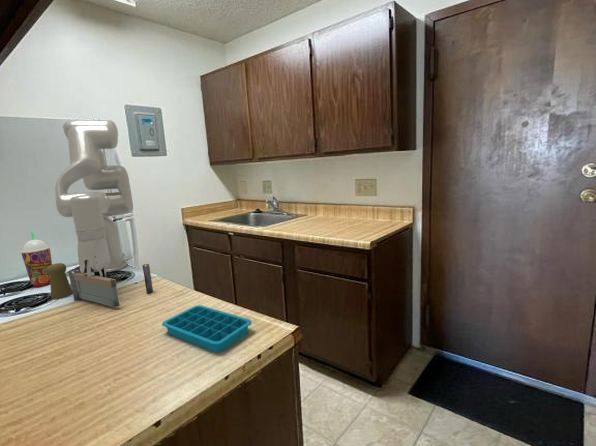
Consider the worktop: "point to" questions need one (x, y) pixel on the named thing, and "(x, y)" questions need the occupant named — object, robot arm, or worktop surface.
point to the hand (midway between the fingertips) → (101, 289)
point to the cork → (59, 281)
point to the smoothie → (37, 261)
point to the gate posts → (146, 276)
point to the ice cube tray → (208, 327)
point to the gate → (97, 289)
